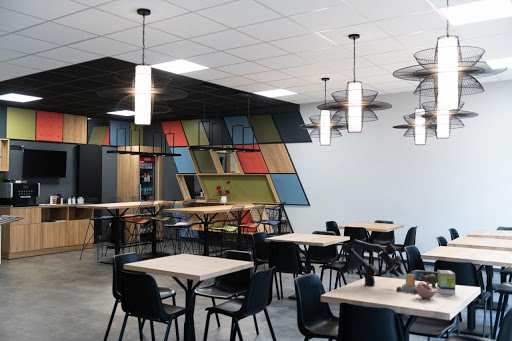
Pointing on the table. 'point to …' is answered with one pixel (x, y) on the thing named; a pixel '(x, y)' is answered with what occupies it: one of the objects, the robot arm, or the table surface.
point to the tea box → (446, 282)
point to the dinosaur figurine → (429, 279)
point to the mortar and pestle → (425, 290)
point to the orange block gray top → (410, 280)
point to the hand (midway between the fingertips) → (401, 275)
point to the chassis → (407, 289)
